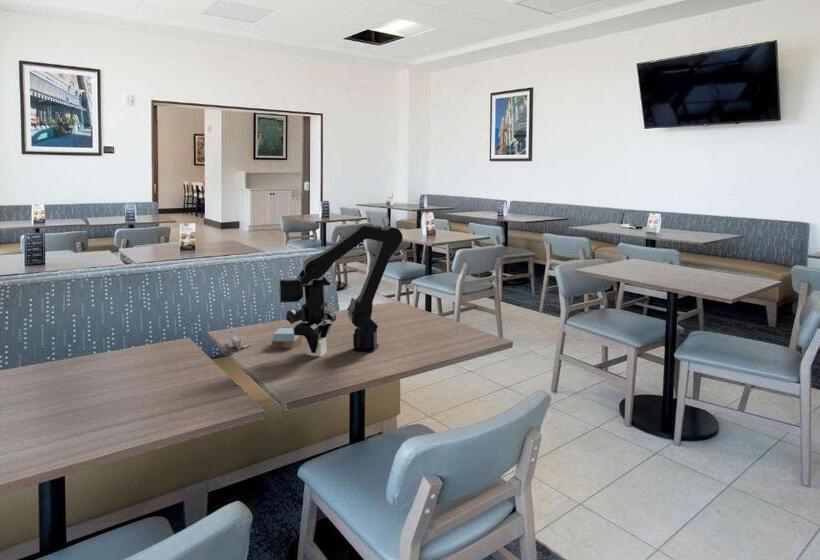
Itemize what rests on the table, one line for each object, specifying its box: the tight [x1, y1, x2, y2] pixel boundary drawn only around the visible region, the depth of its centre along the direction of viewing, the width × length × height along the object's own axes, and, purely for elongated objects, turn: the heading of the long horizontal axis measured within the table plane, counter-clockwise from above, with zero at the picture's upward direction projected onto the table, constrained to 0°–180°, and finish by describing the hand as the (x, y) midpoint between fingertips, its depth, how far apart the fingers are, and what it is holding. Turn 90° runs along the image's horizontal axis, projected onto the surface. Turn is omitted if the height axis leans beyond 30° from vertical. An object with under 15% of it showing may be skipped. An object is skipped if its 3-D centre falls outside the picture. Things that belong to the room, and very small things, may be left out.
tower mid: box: [273, 327, 300, 342], centre depth 185 cm, size 6×6×2 cm
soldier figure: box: [228, 328, 251, 349], centre depth 183 cm, size 8×5×12 cm
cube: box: [305, 337, 328, 357], centre depth 176 cm, size 4×4×4 cm
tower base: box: [271, 335, 303, 350], centre depth 185 cm, size 7×7×2 cm
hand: (316, 350), depth 176 cm, fingers closed on cube, 4 cm apart
